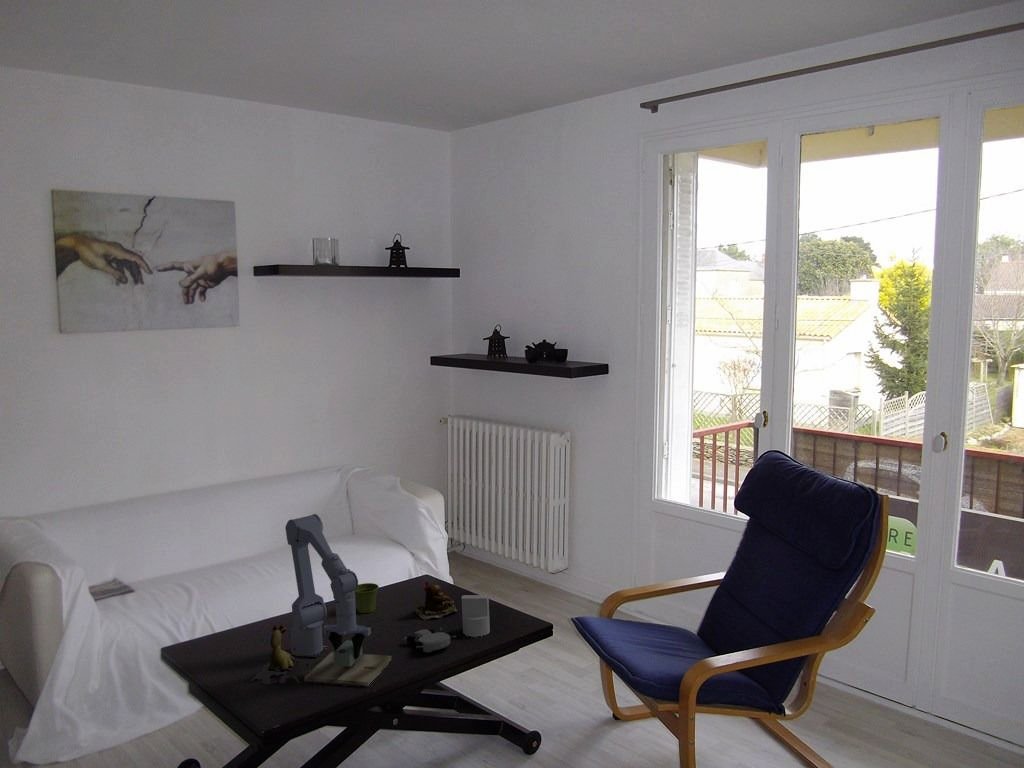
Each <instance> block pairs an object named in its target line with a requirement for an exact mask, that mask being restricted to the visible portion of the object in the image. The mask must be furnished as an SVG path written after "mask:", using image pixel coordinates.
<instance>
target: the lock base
mask: <svg viewBox="0 0 1024 768" xmlns="http://www.w3.org/2000/svg"><path fill="white" fill-rule="evenodd" d="M334 652H335V651H331V652H329V654H327V655H326V657H324V658H323V659H322V660H321V661H320V662H319V663H318V664H316V666H315V667H314V668H313V669H312V671H311V670H310V673H308V674H306V675H304V681H305V680H313V681H324V682H334V683H345V684H353V685H364V686H369V684H370V683H371V682H372V681H373V680H374V679H375V678H376V677H377V676H378V677H379V675H380V674H382V672H383V671H384V670H385V669H386V667H387V666H388V665H389V664H390V663H391V662H392V655H384V654H383V655H381V654H369V653H368V654H367V653H362V655H361V656H360V657H359V658H358V659H357V660H356V661H355V662H354V663H353V664H352V665H351V666H350V667H348V666H334ZM390 661H391V662H390ZM389 662H390V663H389ZM384 668H385V669H384ZM383 669H384V670H383ZM382 670H383V671H382ZM381 671H382V672H381ZM378 677H377V678H378ZM377 678H376V679H377ZM376 679H375V680H376ZM375 680H374V681H375ZM374 681H373V682H374ZM373 682H372V683H373ZM372 683H371V684H372ZM371 684H370V685H371ZM369 687H370V686H369Z"/></svg>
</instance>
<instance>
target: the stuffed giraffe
mask: <svg viewBox="0 0 1024 768" xmlns="http://www.w3.org/2000/svg"><path fill="white" fill-rule="evenodd" d="M286 631H287V628H285V627H284V624H280V625H279V626H278V625H276V624H275V625H273V626H272V634H271V637H270V647H271V648H272V650H271V651H272V653H271V656H270V657H271V659H270V660H271V661H270V660H269V661H270V665H269V668H268V670H269V671H274V672H284V671H287V670H288V668H292V667H293V668H294V658H295V657H294V656H291V655H290V654H291V653H289V652H287V651H286V650H283V649H282V648H281V646H282V645H281V643H282V640H281V639H282V634H284V633H286ZM291 658H292V660H291Z"/></svg>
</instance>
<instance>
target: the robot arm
mask: <svg viewBox="0 0 1024 768" xmlns="http://www.w3.org/2000/svg"><path fill="white" fill-rule="evenodd" d="M323 531H324V525H323V522H322V519H321V517H320V516H319V515H318V514H316V513H313V514H311V515H307V516H302V517H299V518H294V519H293V518H291V519H289V520H287V523H286V525H285V534H286V540H287V545H289V546H290V547H291V553H292V561H293V562H292V563H293V567H294V572H295V579H296V587H297V594H298V596H297V598H296V599H295V600H294V601H293V603H291V620H292V624H293V626H292V628H291V630H290V637H289V638H290V652H292V653H300V654H304V655H313V654H317V653H319V652H321V651H322V650H323V647H328V648H329V646H327V645H323V644H324V643H323V634H325V635H327V634H329V636H328V640H329V642H330V644H331V645H332V647H333V648H334V649H333V650H334V652H335V651H336V650H337V649H338V648H339V647H340V646H341V645H342V644H343V636H344V635H353V636H352V637H351V641H352V642H353V647H354V658H355V659H357V658H358V657H359V656H360V650H361V646H362V647H363V643H364V639H365V638H366V637H369V636H371V633H372V630H371V627H368V626H363V625H359V624H357V615H356V614H357V613H356V597H355V591H354V590H356V589H357V588H358V585H359V579H358V576H357V574H356V573H355V572H354V571H353V570H351V569H350V568H347V567H346V565H345V563H344V562H343V560H342V559H341V557H340V556H339V554H338V553H334V552H333V551H332V549H331V547H330V544H329V543H328V541H327V539H326V537H325V535H324V532H323ZM309 544H310V545H311V546H312V548H313V549H314V550H315V551H316V553H317V554H318V556H319V557H320V559H322V560H321V564H320V565H321V567H322V569H323V570H324V572H325V573H326V575H327V576H328V579H329V580H330V589H331V592H332V595H333V600H334V601H335V615H336V617H335V618H336V624H325V625H324V621H325V620H326V619H327V614H328V611H327V607H326V604H325V602H324V597H323V596H321V595H319V594H316V589H315V582H314V577H313V570H312V564H311V563H312V562H311V557H310V551H309ZM323 625H324V626H323ZM295 649H296V650H295ZM325 649H326V648H325ZM326 650H327V649H326ZM319 654H320V653H319Z"/></svg>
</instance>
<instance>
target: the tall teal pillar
mask: <svg viewBox="0 0 1024 768" xmlns="http://www.w3.org/2000/svg"><path fill="white" fill-rule="evenodd" d="M333 652H334V666H348V667H350V666H351V665H352V664H353V663H354V662H355V661H356V660H357V659H358V658H359V657H360V656H361V655H362V654H363V645H362V646H361V650H360V656H359V657H358V658H357V659H355V658H354V647H353V642H352V640H348V639H346V640H345V641H344V642H342V645H341V646H340V647H339V648H338V649H337V650H336V651H335V650H334V651H333Z"/></svg>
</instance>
